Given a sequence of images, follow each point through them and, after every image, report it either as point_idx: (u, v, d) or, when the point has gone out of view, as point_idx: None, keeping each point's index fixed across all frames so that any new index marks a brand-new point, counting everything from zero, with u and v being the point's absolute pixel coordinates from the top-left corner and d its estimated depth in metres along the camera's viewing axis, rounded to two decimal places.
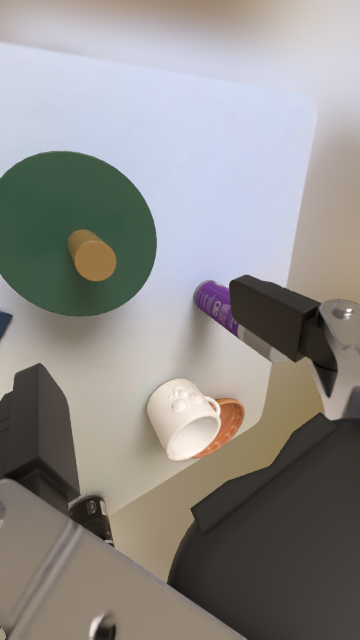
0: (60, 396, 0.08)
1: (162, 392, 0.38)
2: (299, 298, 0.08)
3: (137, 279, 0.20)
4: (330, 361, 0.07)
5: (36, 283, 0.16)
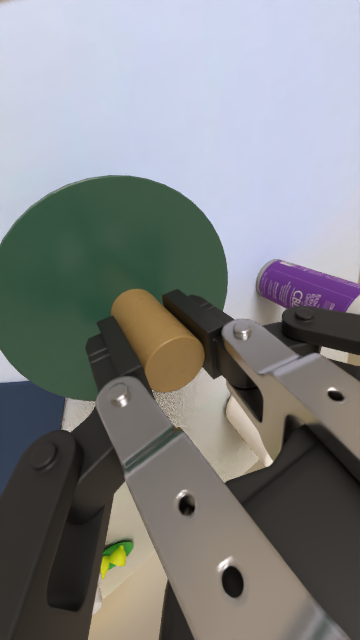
0: None
1: None
2: (211, 316, 0.08)
3: None
4: (236, 380, 0.07)
5: (89, 379, 0.12)
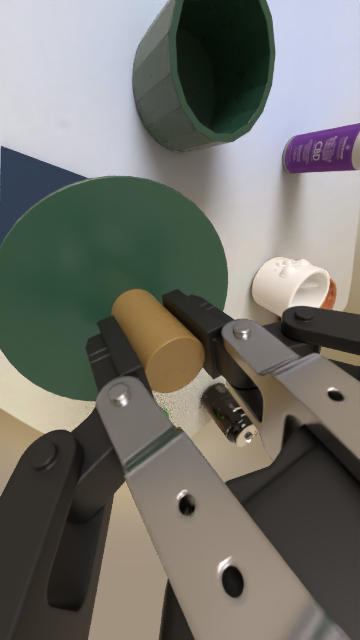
0: None
1: (266, 269, 0.40)
2: (211, 316, 0.08)
3: None
4: (236, 380, 0.07)
5: (89, 379, 0.12)
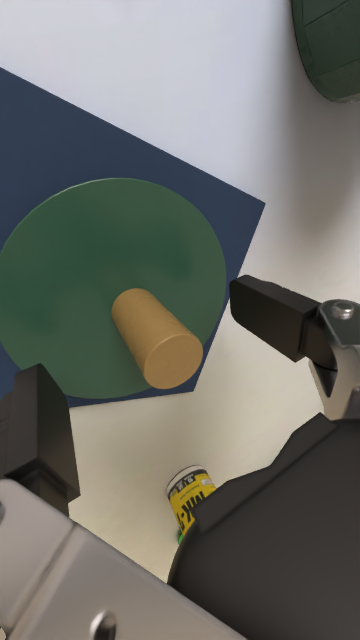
0: (60, 396, 0.08)
1: None
2: (299, 298, 0.08)
3: (208, 319, 0.14)
4: (330, 361, 0.07)
5: (89, 377, 0.12)
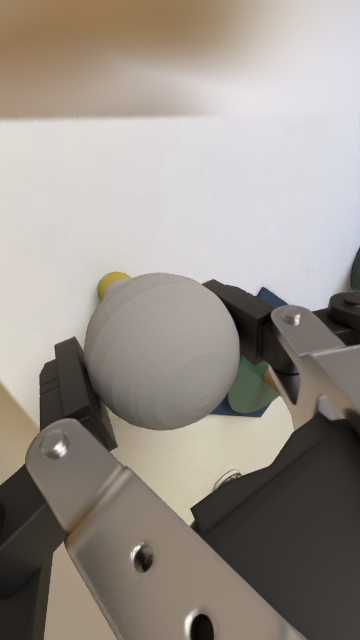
0: None
1: None
2: (256, 303, 0.08)
3: None
4: (283, 365, 0.08)
5: (242, 400, 0.25)
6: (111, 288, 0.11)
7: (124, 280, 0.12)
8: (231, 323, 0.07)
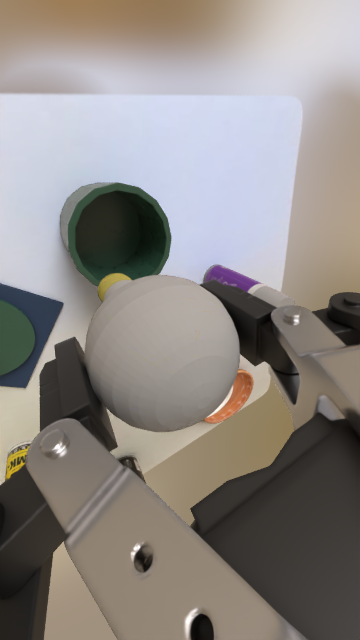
0: None
1: None
2: (256, 303, 0.08)
3: (25, 350, 0.30)
4: (283, 365, 0.08)
5: None
6: (111, 290, 0.11)
7: (124, 281, 0.12)
8: (231, 325, 0.07)
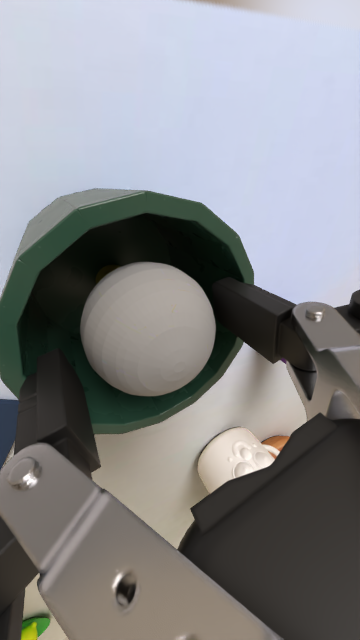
0: (77, 380, 0.09)
1: (218, 451, 0.30)
2: (275, 300, 0.08)
3: None
4: (304, 363, 0.08)
5: None
6: None
7: None
8: (206, 304, 0.09)
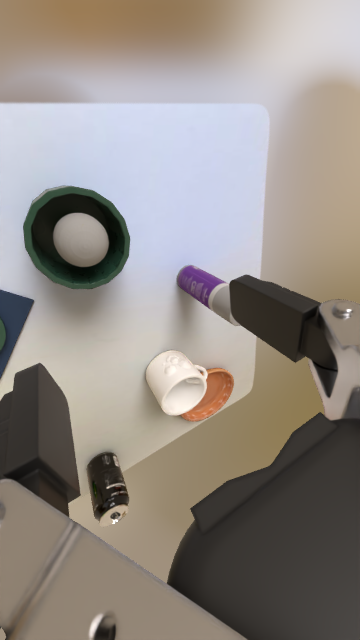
0: (60, 396, 0.08)
1: (157, 361, 0.46)
2: (299, 298, 0.08)
3: None
4: (330, 361, 0.07)
5: None
6: None
7: None
8: (98, 227, 0.24)
